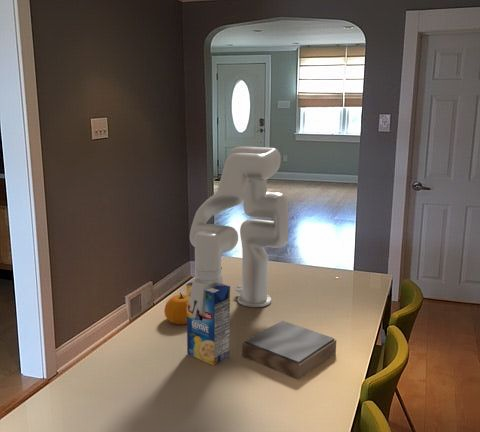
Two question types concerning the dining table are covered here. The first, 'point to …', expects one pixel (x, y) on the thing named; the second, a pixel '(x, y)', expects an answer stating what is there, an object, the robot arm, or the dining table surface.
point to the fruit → (177, 309)
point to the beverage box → (210, 326)
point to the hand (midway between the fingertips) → (208, 332)
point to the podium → (289, 349)
